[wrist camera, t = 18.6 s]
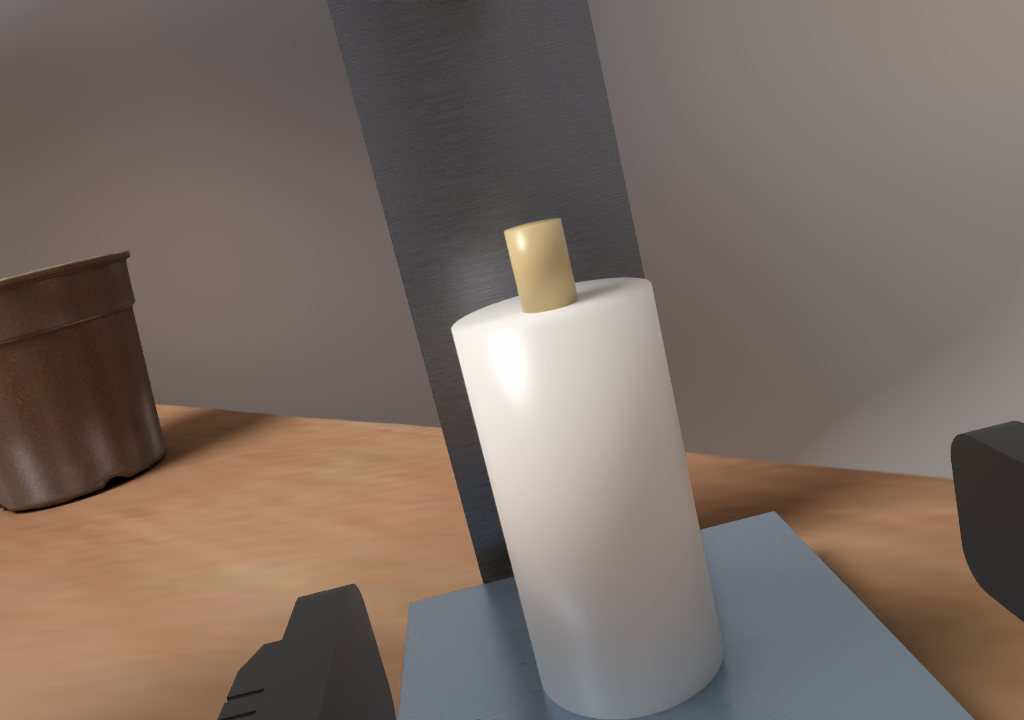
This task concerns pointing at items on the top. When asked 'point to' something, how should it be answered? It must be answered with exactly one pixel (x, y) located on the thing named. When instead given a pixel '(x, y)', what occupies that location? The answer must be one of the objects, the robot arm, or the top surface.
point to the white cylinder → (591, 483)
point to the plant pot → (72, 383)
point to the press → (593, 255)
